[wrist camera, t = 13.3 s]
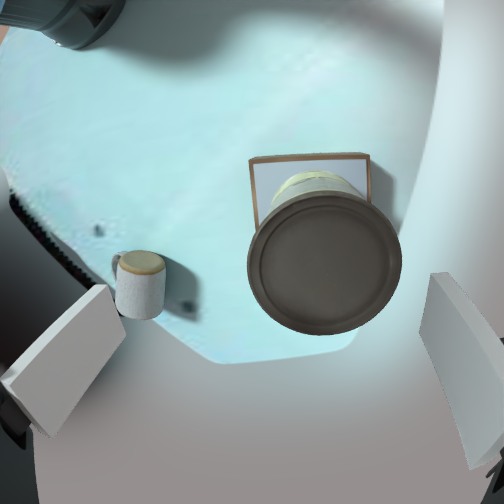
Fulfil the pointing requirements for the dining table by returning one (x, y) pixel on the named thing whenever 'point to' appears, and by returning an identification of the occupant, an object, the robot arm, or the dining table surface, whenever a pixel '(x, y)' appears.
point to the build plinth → (285, 166)
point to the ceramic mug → (139, 283)
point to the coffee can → (323, 256)
